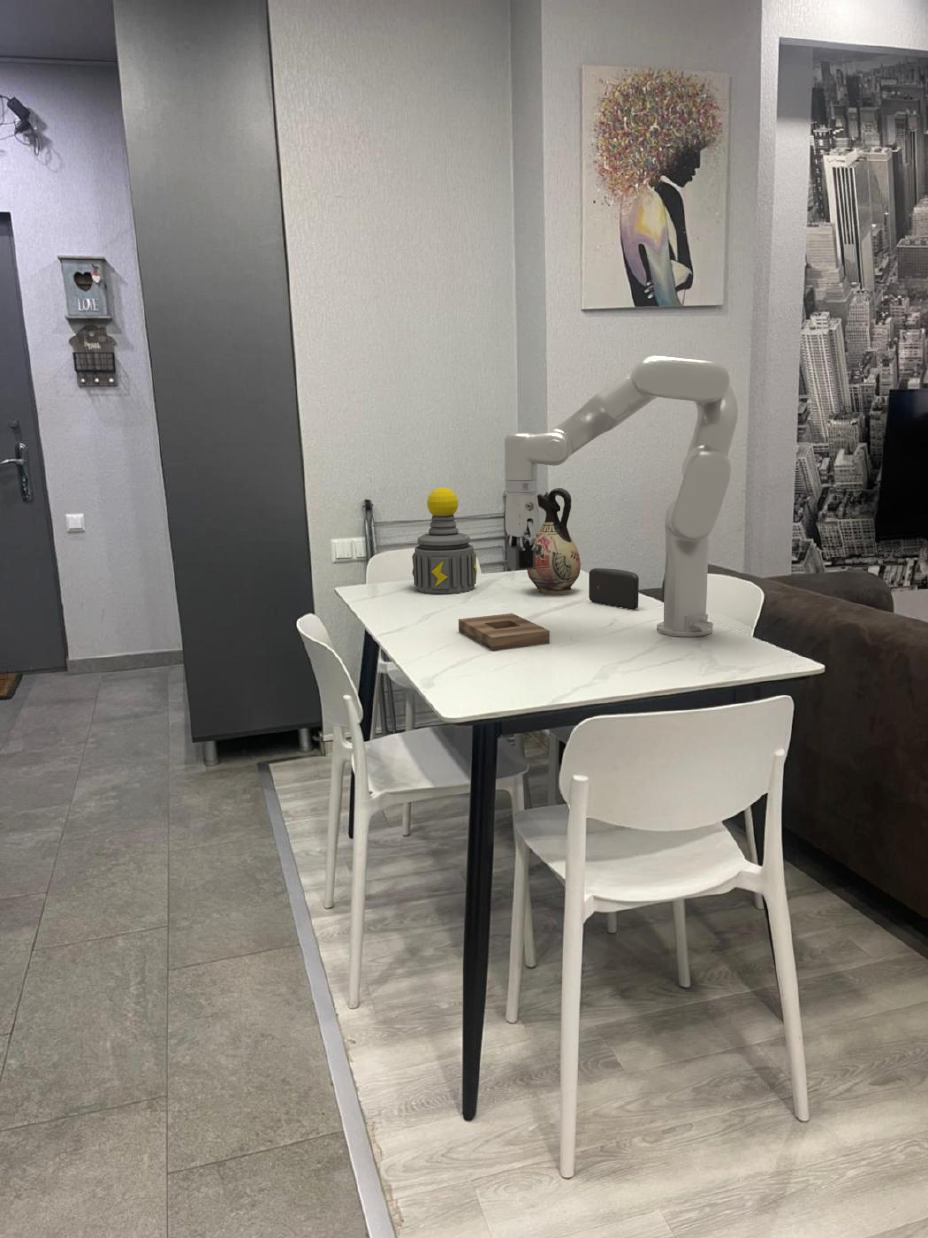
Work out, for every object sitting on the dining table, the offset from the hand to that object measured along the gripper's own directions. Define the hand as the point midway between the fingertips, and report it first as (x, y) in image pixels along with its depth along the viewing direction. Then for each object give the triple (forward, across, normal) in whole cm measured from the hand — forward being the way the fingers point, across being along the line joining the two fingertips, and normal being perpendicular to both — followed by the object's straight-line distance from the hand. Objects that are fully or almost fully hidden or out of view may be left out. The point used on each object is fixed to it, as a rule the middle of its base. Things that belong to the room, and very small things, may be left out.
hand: (521, 564), depth 209 cm
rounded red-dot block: (+16, +14, -33) cm, 39 cm away
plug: (+1, 0, 0) cm, 1 cm away
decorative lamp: (+16, +58, 0) cm, 60 cm away
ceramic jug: (+16, +38, -27) cm, 49 cm away
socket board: (+16, -4, +7) cm, 18 cm away
